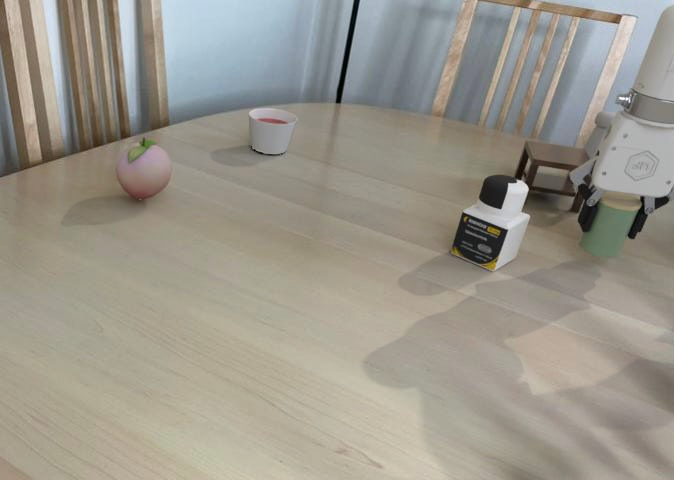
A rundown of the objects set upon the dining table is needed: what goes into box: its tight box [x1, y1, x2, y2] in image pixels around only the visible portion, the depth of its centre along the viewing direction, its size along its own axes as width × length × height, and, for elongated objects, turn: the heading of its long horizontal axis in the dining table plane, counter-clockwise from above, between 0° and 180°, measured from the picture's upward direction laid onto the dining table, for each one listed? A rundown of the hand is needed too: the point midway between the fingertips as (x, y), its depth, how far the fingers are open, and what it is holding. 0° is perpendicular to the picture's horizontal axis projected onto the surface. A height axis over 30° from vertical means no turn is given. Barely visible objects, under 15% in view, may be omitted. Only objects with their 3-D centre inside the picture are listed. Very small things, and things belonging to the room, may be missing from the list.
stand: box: [513, 139, 592, 214], centre depth 130 cm, size 10×10×8 cm
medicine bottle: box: [450, 174, 531, 273], centre depth 107 cm, size 7×7×12 cm
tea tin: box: [578, 191, 642, 259], centre depth 108 cm, size 6×6×8 cm
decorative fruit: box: [115, 137, 173, 200], centre depth 114 cm, size 9×8×10 cm
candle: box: [248, 107, 298, 154], centre depth 139 cm, size 9×9×6 cm
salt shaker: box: [581, 110, 617, 185], centre depth 137 cm, size 6×6×13 cm
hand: (606, 230), depth 108 cm, fingers closed on tea tin, 5 cm apart
